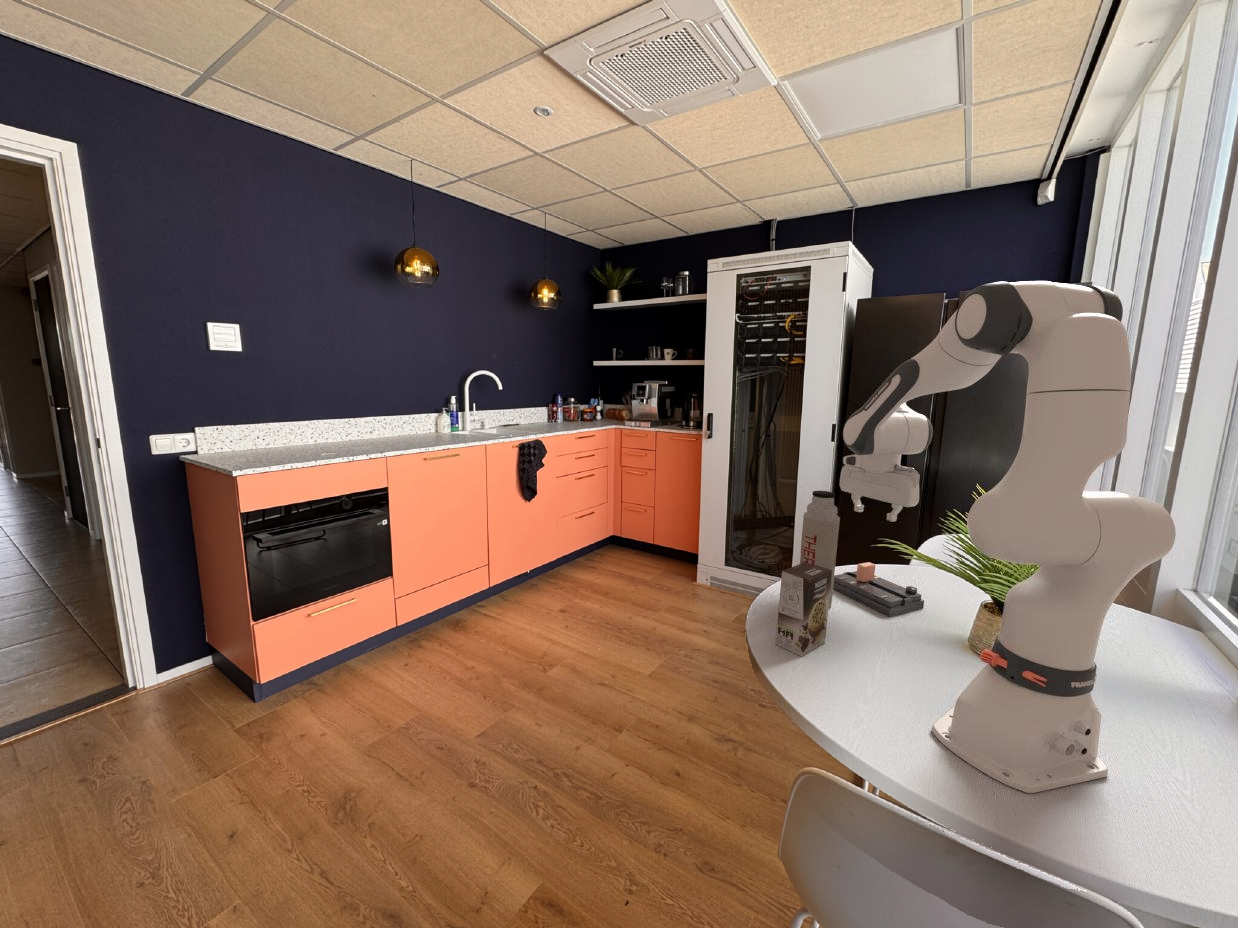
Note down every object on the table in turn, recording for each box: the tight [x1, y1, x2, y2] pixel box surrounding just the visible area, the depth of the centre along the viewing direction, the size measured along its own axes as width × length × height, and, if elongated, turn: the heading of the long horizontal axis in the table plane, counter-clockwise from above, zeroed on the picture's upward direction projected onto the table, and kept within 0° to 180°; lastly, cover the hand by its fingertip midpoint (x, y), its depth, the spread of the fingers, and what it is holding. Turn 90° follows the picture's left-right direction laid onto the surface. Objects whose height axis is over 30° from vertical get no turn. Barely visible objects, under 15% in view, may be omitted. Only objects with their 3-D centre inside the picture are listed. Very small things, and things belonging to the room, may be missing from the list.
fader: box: [856, 561, 876, 584], centre depth 130 cm, size 4×2×6 cm, turn 115°
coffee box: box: [775, 562, 832, 657], centre depth 104 cm, size 9×6×16 cm
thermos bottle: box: [799, 490, 841, 611], centre depth 122 cm, size 8×8×28 cm
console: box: [833, 570, 925, 618], centre depth 128 cm, size 12×18×4 cm, turn 25°
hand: (874, 515), depth 128 cm, fingers open, 8 cm apart
